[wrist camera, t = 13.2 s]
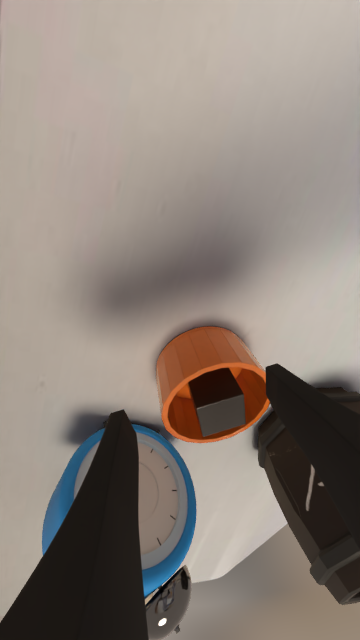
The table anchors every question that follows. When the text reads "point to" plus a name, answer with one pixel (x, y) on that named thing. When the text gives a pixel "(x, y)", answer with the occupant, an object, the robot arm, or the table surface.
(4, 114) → the table surface
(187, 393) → the cup
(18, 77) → the table surface
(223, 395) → the block
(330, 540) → the wooden barrel
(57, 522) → the alarm clock
